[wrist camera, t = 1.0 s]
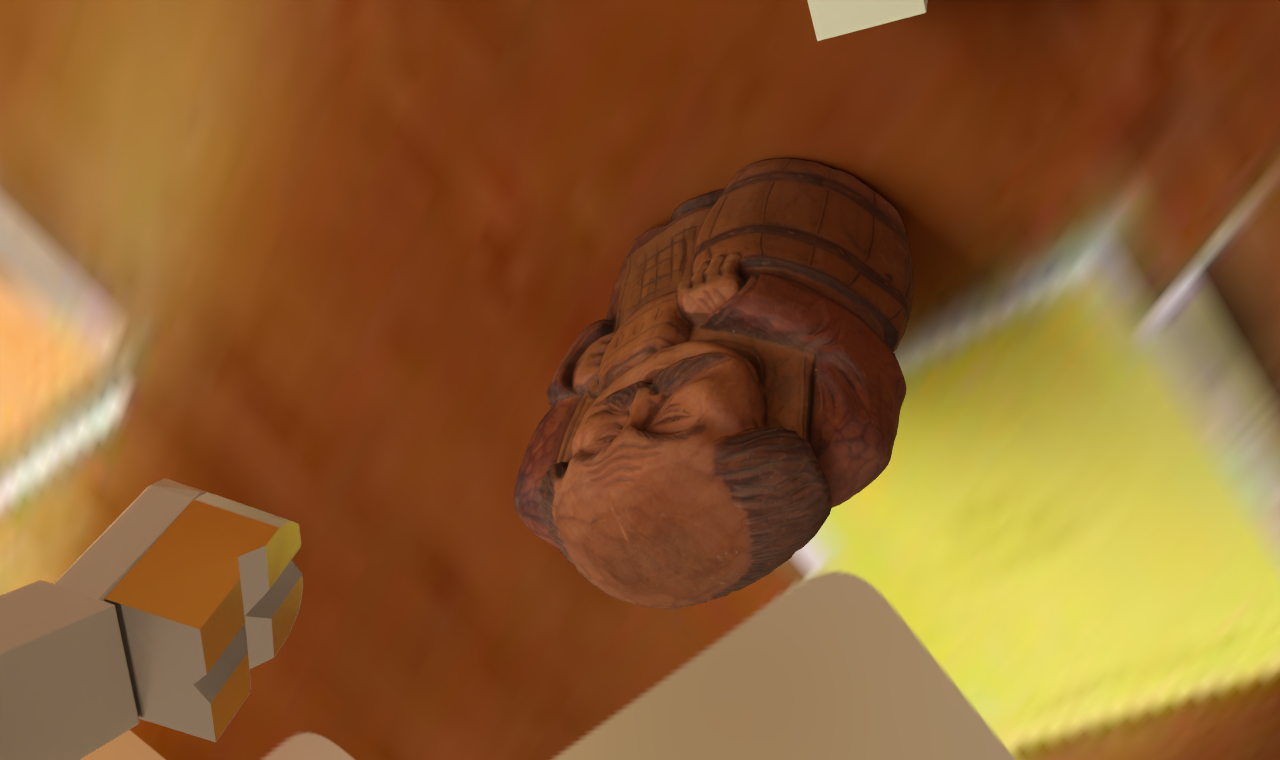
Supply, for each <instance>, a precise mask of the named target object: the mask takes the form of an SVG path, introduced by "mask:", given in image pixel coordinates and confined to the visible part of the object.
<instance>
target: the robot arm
mask: <svg viewBox="0 0 1280 760" xmlns="http://www.w3.org/2000/svg"><path fill="white" fill-rule="evenodd" d="M300 547H301V540H300V530H299V524H297V523H295V522H292V521H289V520H287V519H284V518H281V517H278V516H275V515H272V514H269V513H266V512H263V511H261V510H258V509H255V508H252V507H249V506H246V505H243V504H240V503H238V502H235V501H232V500H229V499H226V498H223V497H220V496H217V495H214V494H212V493H209V492H205V491H202V490H199V489H196V488H193V487H190V486H187V485H184V484H181V483H178V482H175V481H172V480H169V479H166V478H164V479H162V480H160V481H158V482H156V483H154V484H152V485H150V486H149V487H147V488H146V489H145V490H144V491H143V492H142V493H141V494H140V495H139V496H138V498H137V499H136V500H135V501H134V502H133V503H132V504H131V505H130V506H129V507H128V508H127V509H126V510H125V511H124V512H123V513H122V514H121V515H120V516H119V517H118V518H117V519H116V520H115V521H114V522H113V523H112V524H111V525H110V526H109V527H108V528H107V529H106V530H105V531H104V532H103V533H102V534H101V535H100V537H99V538H98V539H97V540H96V541H95V542H94V543H93V544H92V545H91V546H90V547H89V548H88V549H87V550H86V551H85V552H84V553H83V554H82V555H81V556H80V557H79V558H78V559H77V560H76V561H75V562H74V563H73V564H72V565H71V566H70V567H69V568H68V569H67V570H66V571H65V572H64V573H63V575H62V576H61V577H60V578H59V579H58V580H57V581H56V582H55V583H54V584H52V583H49V582H45V581H42V580H39V581H37V582H34V583H31V584H29V585H26V586H24V587H21V588H19V589H16V590H13V591H11V592H8V593H6V594H3V595H0V760H80V759H81V758H83V757H85V756H86V755H88V754H90V753H91V752H93V751H95V750H96V749H98V748H100V747H101V746H103V745H105V744H106V743H108V742H109V741H111V740H113V739H115V738H116V737H118V736H119V735H121V734H123V733H125V732H126V731H128V730H130V729H131V728H133V727H135V726H136V725H138V724H139V719H142V720H146V721H149V722H152V723H155V724H158V725H162V726H165V727H168V728H171V729H174V730H178V731H181V732H184V733H187V734H191V735H194V736H197V737H200V738H203V739H207V740H210V741H213V742H216V741H217V740H218V738H219V737H220V735H221V734H222V733H223V731H224V730H225V728H226V727H227V725H228V724H229V722H230V721H231V719H232V718H233V717H234V715H235V714H236V712H237V711H238V709H239V708H240V706H241V705H242V704H243V702H244V701H245V699H246V698H247V696H248V695H249V693H250V692H251V683H250V671H249V669H251V668H253V667H255V666H257V665H259V664H262V663H264V662H266V661H268V660H270V659H272V658H274V657H275V655H276V654H277V652H278V651H279V649H280V647H281V646H282V644H283V643H284V641H285V640H286V638H287V637H288V635H289V633H290V630H291V628H292V625H293V623H294V621H295V618H296V616H297V614H298V611H299V608H300V602H301V597H302V592H303V581H302V574H301V572H300V571H299V569H298V568H297V567H296V565H295V564H294V563H293V561H292V560H291V559H292V558H293V557H294V555H295V554H296V552H297V551H298V550H299V548H300Z"/></svg>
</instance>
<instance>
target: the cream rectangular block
mask: <svg viewBox="0 0 1280 760" xmlns="http://www.w3.org/2000/svg"><path fill="white" fill-rule="evenodd" d="M927 2H928V0H808V5H809V9H810V13H811V17H812V21H813V25H814V29H815V33H816V37H817V41H820V40H823V39H827V38H831V37H835V36H839V35H843V34H846V33H850V32H854V31H858V30H862V29H866V28H869V27H873V26H877V25H881V24H885V23H889V22H892V21H896V20H900V19H904V18H908V17H912V16H915V15H919V14H923V13H926V9H927Z"/></svg>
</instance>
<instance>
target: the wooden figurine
mask: <svg viewBox="0 0 1280 760" xmlns="http://www.w3.org/2000/svg"><path fill="white" fill-rule="evenodd" d="M912 297H913V270H912V257H911V254H910V249H909V242H908V238H907V234H906V231H905V226H904V223H903V221H902V219H901V216H900V215H899V213H898V212H897V210H896V209H895V208H894V207H893V206H892V205H891V204H890V203H889V202H888V201H886V200H885V199H884V198H883V197H882V196H880V195H879V194H877V193H876V192H875V191H873V190H872V189H870V188H869V187H868V186H866V185H865V184H863V183H862V182H860V181H859V180H858V179H857V178H855V177H854V176H852V175H850V174H848V173H846V172H844V171H841V170H835V169H832V168H829V167H827V166H824V165H822V164H819V163H817V162H813V161H805V160H798V159H791V158H782V159H767V160H762V161H759V162H755V163H752V164H750V165H748V166H746V167H744V168H743V169H741V170H740V171H739V172H738V173H737V174H736V175H735V176H734V178H733V179H732V180H731V182H730V183H729V184H728V185H727V187H726V188H725V189H724V190H719V191H713V192H710V193H708V194H705V195H702V196H700V197H697V198H694V199H691V200H688V201H686V202H684V203H683V204H681V205H680V206H679V207H678V208H676V209H675V211H674V213H673V215H672V218H671V223H669V224H668V225H666V226H658V227H654V228H651V229H650V230H648V231H647V232H645V233H644V234H642V235H641V236H639V237H638V238H637V239H636V240H635V242H634V243H633V245H632V246H631V248H630V250H629V252H628V254H627V256H626V258H625V260H624V262H623V264H622V267H621V270H620V273H619V276H618V278H617V280H616V282H615V285H614V289H613V292H612V296H611V299H610V304H609V309H608V312H607V317H606V320H605V319H604V320H599V321H596V322H594V323H593V324H591V325H590V326H588V327H587V328H586V329H584V330H583V331H582V332H581V333H580V335H579V336H578V337H577V338H576V339H575V341H574V342H573V343H572V345H571V347H570V348H569V350H568V351H567V353H566V355H565V356H564V358H563V359H562V361H561V363H560V365H559V366H558V368H557V370H556V372H555V374H554V377H553V378H552V380H551V382H550V385H549V387H548V390H547V395H548V401H549V404H550V405H551V409H550V410H549V411H548V413H547V414H546V415H545V416H544V418H543V419H542V421H541V422H540V423H539V425H538V426H537V428H536V430H535V432H534V434H533V436H532V438H531V440H530V442H529V444H528V447H527V450H526V453H525V456H524V458H523V461H522V464H521V466H520V469H519V473H518V476H517V480H516V485H515V492H514V505H515V509H516V511H517V513H518V515H519V516H520V517H521V519H522V520H523V521H524V523H525V524H526V525H527V527H528V528H529V529H530V530H531V531H532V532H534V533H535V534H536V535H537V536H538V537H539V538H541V539H543V540H545V541H547V542H549V543H551V544H552V545H554V546H556V547H558V548H560V549H561V553H563V554H564V555H565V556H566V558H567V559H568V562H571V563H573V564H575V566H576V568H577V571H578V572H579V573H581V574H582V575H583V576H584V577H585V578H586V579H587V580H589V582H590V583H592V584H593V585H594V586H595V587H598V588H600V589H601V590H602V591H604V592H605V593H607V594H608V595H610V596H612V597H614V598H617V599H620V600H623V601H626V602H629V603H632V604H636V605H639V606H643V607H650V608H664V609H679V608H683V607H687V606H692V605H694V604H700V603H704V602H707V601H709V600H713V599H717V598H719V597H722V596H727V595H728V594H729V593H730V592H732V591H737V590H740V589H743V588H744V587H746V586H748V585H750V584H752V583H754V582H756V581H757V580H759V579H760V578H762V577H764V576H766V575H768V574H769V573H771V572H772V571H773V570H774V569H776V568H777V567H778V566H780V565H781V564H783V563H784V562H786V561H787V560H788V559H790V558H791V557H792V555H793V554H794V553H795V552H796V551H798V550H799V549H801V548H803V547H804V546H805V545H806V544H807V543H808V542H809V541H810V540H811V539H812V538H813V537H814V536H815V535H816V533H817V532H818V531H819V529H820V528H821V526H822V525H823V523H824V522H825V520H826V519H827V517H828V516H829V514H830V511H831V508H832V507H835V506H837V505H840V504H841V503H843V502H845V501H847V500H848V499H850V498H851V497H852V496H853V495H855V494H857V493H859V492H860V491H861V490H862V489H864V488H865V487H866V486H868V485H869V484H870V483H871V482H872V481H873V480H875V479H876V478H877V477H878V476H879V475H880V474H881V473H882V471H883V470H884V469H885V468H886V467H887V465H888V463H889V461H890V459H891V454H892V449H893V445H894V440H895V437H896V435H897V428H898V423H899V414H900V409H901V406H902V403H903V401H904V398H905V394H906V384H905V380H904V376H903V374H902V371H901V368H900V366H899V363H898V361H897V359H896V356H895V354H894V353H893V352H894V351H895V350H896V348H897V347H898V344H899V342H900V340H901V338H902V336H903V334H904V332H905V329H906V326H907V322H908V320H909V314H910V310H911V304H912Z"/></svg>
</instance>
